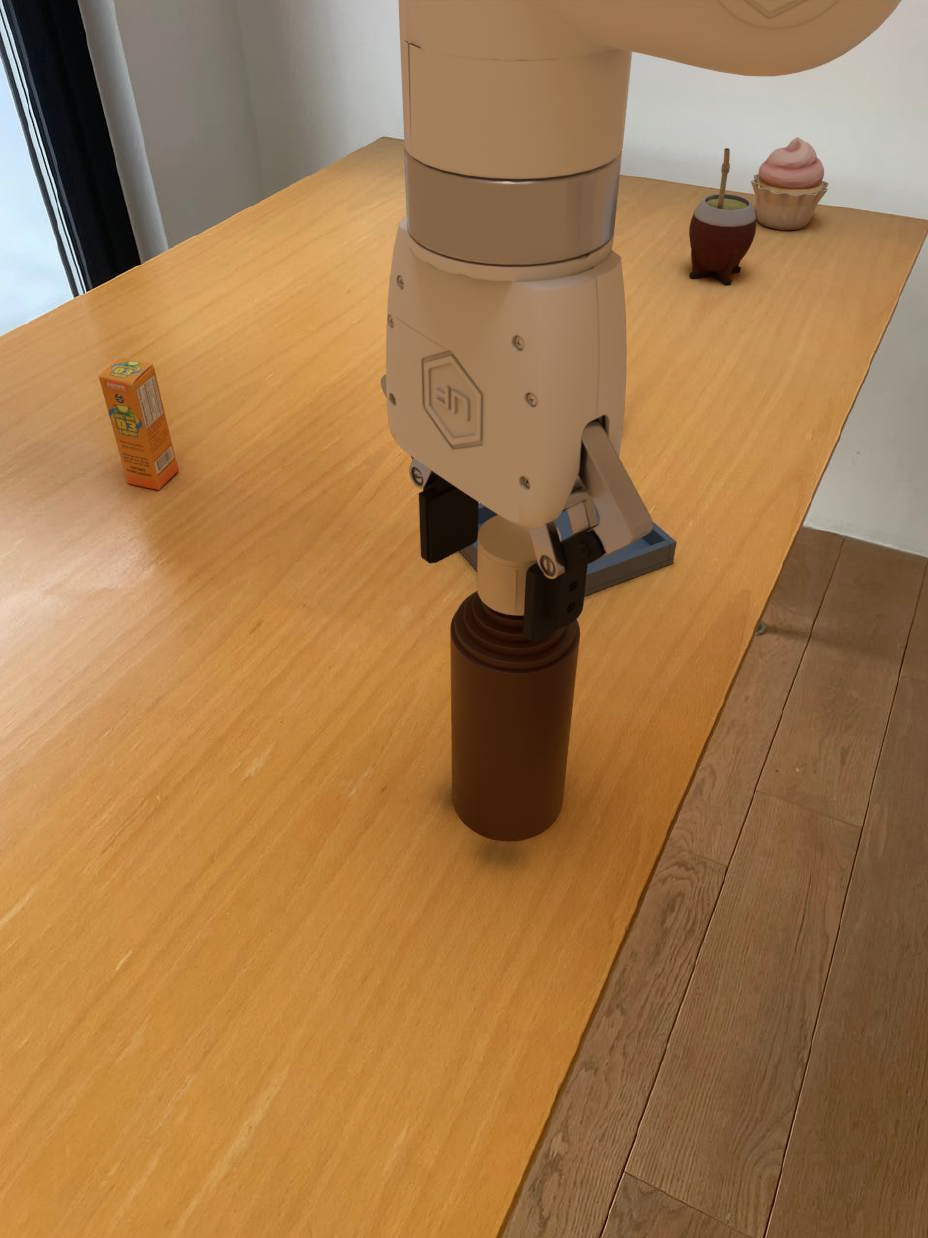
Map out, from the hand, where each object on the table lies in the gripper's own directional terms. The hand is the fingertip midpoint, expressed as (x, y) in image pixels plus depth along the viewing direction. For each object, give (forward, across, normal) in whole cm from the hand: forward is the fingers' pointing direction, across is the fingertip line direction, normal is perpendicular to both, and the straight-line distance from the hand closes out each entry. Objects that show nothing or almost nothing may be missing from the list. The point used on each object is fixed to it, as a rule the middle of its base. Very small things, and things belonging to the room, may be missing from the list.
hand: (499, 584), depth 48 cm
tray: (+16, -14, +19) cm, 29 cm away
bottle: (+16, 0, +1) cm, 16 cm away
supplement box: (+16, -43, 0) cm, 46 cm away
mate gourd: (+16, -39, +68) cm, 80 cm away
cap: (0, +1, +1) cm, 1 cm away
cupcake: (+16, -45, +88) cm, 100 cm away
